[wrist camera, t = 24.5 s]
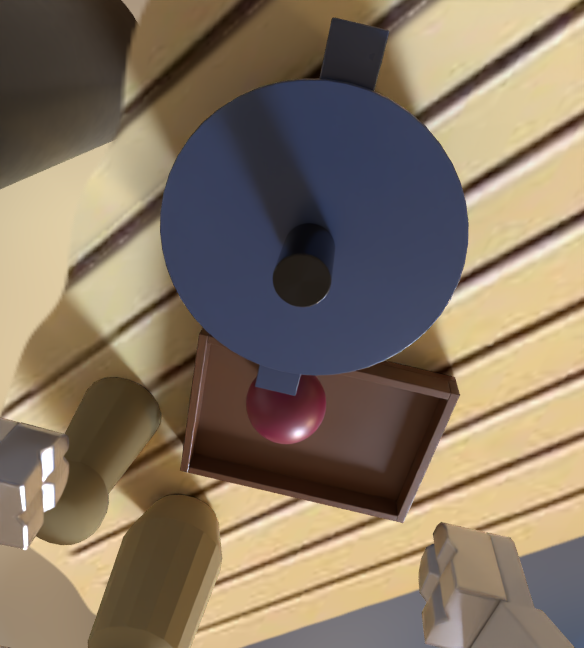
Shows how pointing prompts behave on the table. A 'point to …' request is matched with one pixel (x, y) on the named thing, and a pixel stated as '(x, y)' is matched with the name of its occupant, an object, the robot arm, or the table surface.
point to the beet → (287, 411)
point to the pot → (347, 66)
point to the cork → (99, 455)
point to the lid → (314, 227)
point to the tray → (321, 434)
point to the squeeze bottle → (161, 578)
